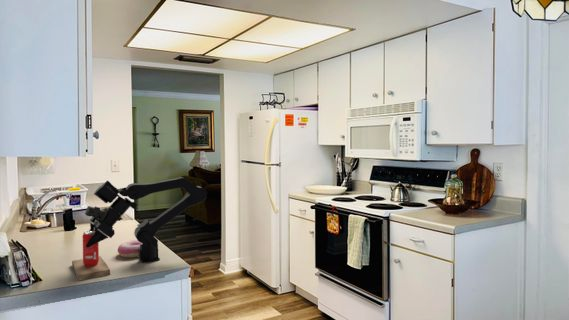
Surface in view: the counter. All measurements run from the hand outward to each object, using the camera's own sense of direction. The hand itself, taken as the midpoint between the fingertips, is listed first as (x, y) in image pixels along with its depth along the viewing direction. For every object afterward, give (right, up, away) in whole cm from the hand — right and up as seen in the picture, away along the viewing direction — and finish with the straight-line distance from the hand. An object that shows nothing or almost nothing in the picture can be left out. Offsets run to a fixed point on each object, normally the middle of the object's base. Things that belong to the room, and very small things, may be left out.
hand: (85, 244), depth 147 cm
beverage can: (+2, -8, +1) cm, 8 cm away
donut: (+11, -9, +20) cm, 24 cm away
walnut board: (+1, -9, +1) cm, 10 cm away
